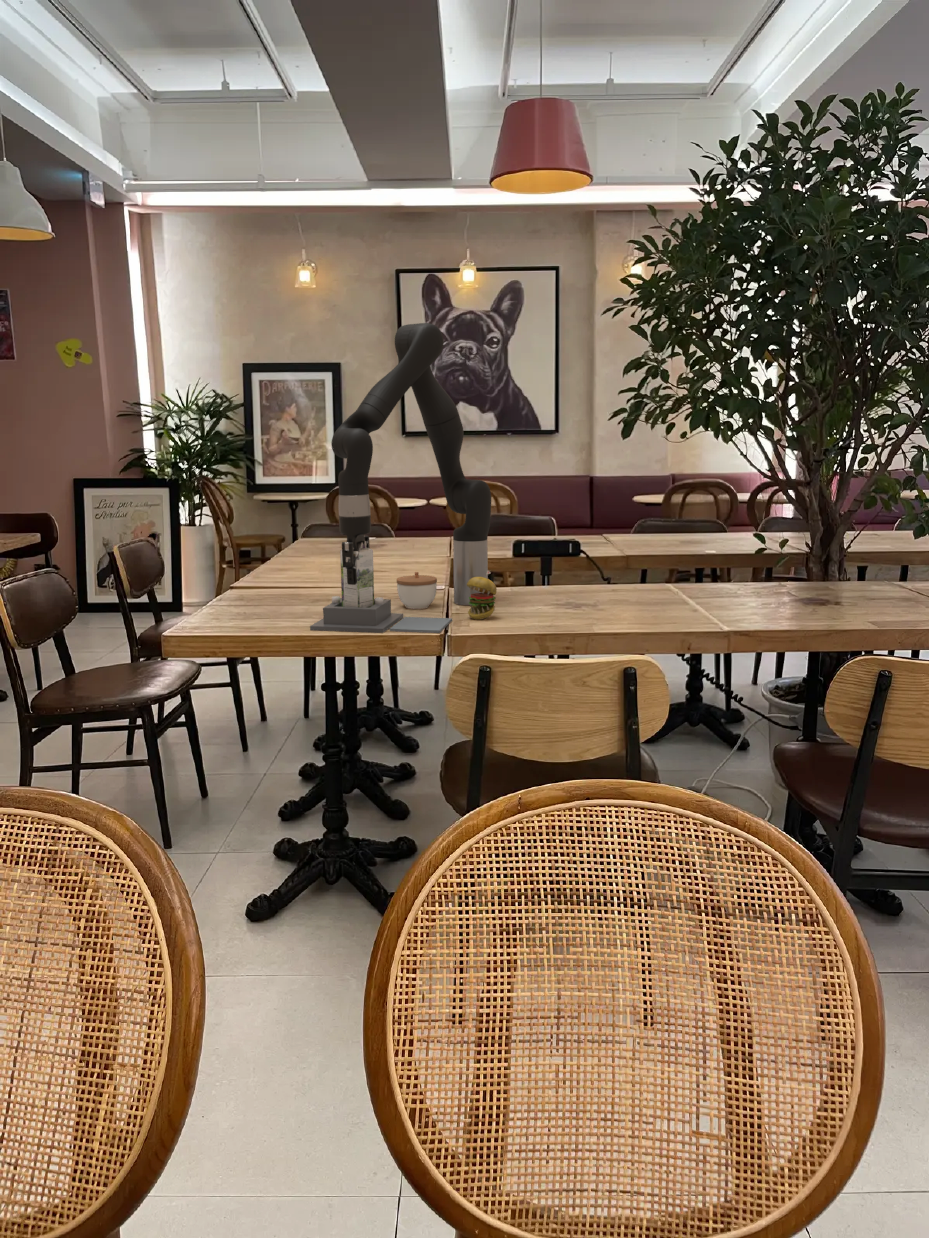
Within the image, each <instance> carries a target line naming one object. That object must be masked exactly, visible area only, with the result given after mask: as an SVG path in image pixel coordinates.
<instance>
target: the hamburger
mask: <svg viewBox="0 0 929 1238" xmlns="http://www.w3.org/2000/svg"><path fill="white" fill-rule="evenodd" d="M491 573H492V572H491V571H490V570H489V569H488V570H487V574H488V575H490V574H491ZM487 574H486V575H487ZM467 586H468V587H469V588H470V591H471V590H472V589H473V591H474V590H476V591H479V592H482V593H474V594H471V597H469V599H470V602H469V604H472V605H470V608H469V609H468V611H467V614H468V616H469V617H470V618H471V619H473V620H477V621H478V620H479V621H480V620H483V619H487V618H489V617H490V616H491V615H492V614H493V613H494V612H495V608H496V607H495V606H496V605H495V604H496V602H495V599H496V596H494V595H496V594H497V592H498V591H497V590H498V589H497V586H496V584H495V583H494V582H493V581H492V580H490V579H489V578H488V579H487V578H484V577H473V578H471V579H470V580H469V581H468V583H467Z"/></svg>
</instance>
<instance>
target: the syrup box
mask: <svg viewBox="0 0 929 1238" xmlns="http://www.w3.org/2000/svg"><path fill="white" fill-rule="evenodd" d="M339 553H340V581H341V582H340V585H341V586H340V587H341V598H342V607H367V608H370V607H372V606H373V605H374V599H375V578H374V577H375V576H374V571H375V569H374V549H373V548H362V550H361V551H360V552H358V551H354V556H356V557H357V555H358V553H359V560H357V567H356V569H357V584H355V585H349V584H348V583H347V569H346V568H345V567H343V562H342V549H340V552H339Z"/></svg>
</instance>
